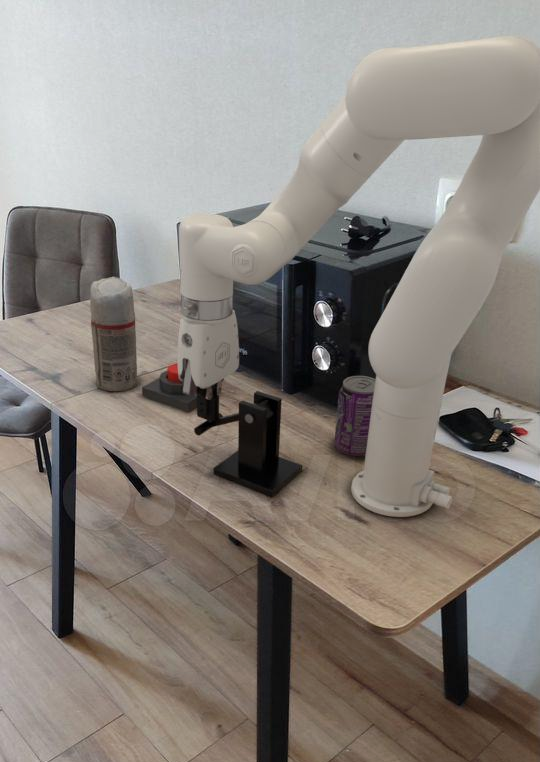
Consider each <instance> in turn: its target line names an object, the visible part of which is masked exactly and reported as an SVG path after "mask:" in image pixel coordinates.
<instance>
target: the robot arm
mask: <svg viewBox="0 0 540 762" xmlns="http://www.w3.org/2000/svg"><path fill="white" fill-rule="evenodd" d="M345 90H346V91H345V94H344V96H343V97H342V98H341V99H340V101H339V102H338V103H337V104H336V105H335V107H334V108H333V109H332V111H330V113H329V114H328V115H327V116H326V118H325V119H324V120H323V121H322V122H321V123H320V124H319V126H317V128H316V129H315V130H314V132H313V133H312V134H311V135H310V137H308V138H307V140H306V141H305V142H304V144H303V145H302V147H301V149H300V152H299V156H298V158H299V159H298V165H297V167H296V169H295V171H294V173H293V174H292V176H291V177H290V178H289V180H288V181H287V183H286V184H285V185H284V186H283V187H282V189H281V190H280V191H279V193H277V195H276V196H275V198H274V199H272V201H271V202H269V205H267V207H266V208H264V210H263V211H262V212H261V213H260V214H259V215H258V216H256V217H255V218H253V219H251V220H250V221H248V222H246V223H244V224H243V223H242V224H240V225H236V226H234V225H233V223H232V221H231V220H230V219H229V218H228V217H226V216H223V215H220V214H215V213H204V212H203V213H192V214H189V215H186V216H185V217H183V218H182V219H181V221H180V222H179V225H178V251H179V252H178V253H179V283H180V286H179V287H180V315H181V318H180V319H179V320H180V321H179V328H178V337H177V338H178V339H177V364H178V375H179V379H180V381H182V382H184V386H183V393H185V394H188V395H196V396H197V408H196V416H197V417H198V418H201V419H203V420H205V421H206V420H209V421H214V420H215V419H217V418H218V417H219V413H220V394H221V393H222V388H223V383H224V380H225V378H228V377H229V376H231V375H233V374H234V373H235V372H236V371H237V370H238V368H239V366H240V341H239V328H238V322H237V316H236V311H235V309H234V282H237V283H239V284H243V285H248V286H255V285H260V284H263V283H265V282H266V281H268V280H270V279H271V278H272V277H273V276H274V275H275V274H276V273H278V272H279V271H280V270H281V269H282V268H283V267H284V266H286V265H287V264H288V263H289V262H290V261H292V260H293V259H294V258H295V256H297V254H299V252H300V251H301V250H302V249H303V248H304V247H305V246H306V245H307V244H308V242H310V240H311V239H312V238H313V237H314V236H315V235H316V234H317V233H318V232H319V231H320V230H321V229H322V227H323V226H325V224H326V223H327V222H328V221H329V220H330V219H331V218H332V217H333V215H334V214H335V213H336V212H337V211H339V210H340V208H342V207H343V206H344V205H346V204H347V203H348V202H349V201H350V200H351V198H352V197H353V196H354V195H355V194H356V193H357V192H358V191H359V190H360V189H361V188H362V187H363V185H364V184H365V183H366V182H367V181H368V180H369V179H370V178H371V177H372V176H373V174H374V173H375V172H376V171H377V170H378V169H379V168H380V167H381V166H382V165H383V163H384V162H386V160H387V159H388V158H389V157H390V156H391V155H392V154H393V153H394V152H395V151H396V150H397V149H398V148H399V147H400V145H402V144H403V142H405V141H410V140H429V139H441V138H442V139H443V138H459V137H475V136H476V137H477V136H482V137H481V140H480V143H479V146H478V148H477V150H476V152H475V154H474V155H473V157H472V160H471V162H470V164H469V165H468V167H467V169H466V171H465V172H464V175H463V177H462V179H461V181H460V183H459V185H458V187H457V189H456V190H455V193H454V194H453V196H452V197H451V200H450V202H449V203H448V205H447V207H446V208H445V210H444V212H443V213H442V215H441V216H440V218H439V220H438V221H437V222H436V223H435V225H434V226H433V227H432V228H431V229H430V231H428V233H427V235H426V236H425V238H424V239H423V240H422V242H421V243H420V245H419V246H418V248H417V249H416V251H415V253H414V254H413V256H412V258H411V261H410V262H409V264H408V266H407V268H406V269H405V270H404V273H403V275H402V277H401V278H400V280H399V283H398V284H397V286H396V288H395V290H394V292H393V293H392V295H391V297H390V299H389V301H388V303H387V304H386V307H385V309H384V310H383V312H382V314H381V315H380V317H379V320H378V321H377V323H376V325H375V327H374V329H373V330H372V333H371V334H370V338H369V341H368V349H367V350H368V351H367V352H368V353H367V355H368V360H369V363H370V366H371V367H372V371H373V373H374V374H375V379H376V380H375V387H374V395H373V401H372V409H371V417H370V425H369V433H368V440H367V448H366V455H364V465H363V470H361V471H360V472H358V473H357V474H355V476H354V477H353V478H352V481H351V486H350V490H351V491H350V492H351V494H352V497H353V499H354V500H355V501H356V502H357V503H358V504H359V505H360V506H362V507H363V508H365V509H367V510H368V511H370V512H372V513H375V514H378V515H382V516H386V517H391V518H407V517H414V516H418V515H420V514H423V513H425V512H427V511H428V510H429V509H430V508H431V507H432V506H433V505H434V504H435V505H436V506H438V507H441V508H445V509H449V508H450V507H451V504H452V501H453V495H450V492H451V487H449V486H446V485H443V484H439V483H436V480H434V476H435V471H434V470H432V469H430V467H431V460H432V456H433V450H434V445H435V441H436V434H437V429H438V423H439V419H440V418H439V416H440V412H441V409H442V403H443V398H444V394H445V387H446V382H447V378H448V374H449V373H448V372H449V368H450V363H451V358H452V354H453V352H454V351H455V349H456V347H458V345H459V343H460V341H461V340H462V338H463V337H464V335H465V334H466V332H467V331H468V329H469V327H471V324H472V323H473V321H474V319H476V316H477V314H478V313H479V312H480V310H481V308H482V307H483V305H484V303H485V302H486V300H487V298H488V296H489V295H490V293H491V290H492V289H493V286H494V285H495V281H496V279H497V276H498V272H499V270H500V266H501V262H502V258H503V255H504V253H505V251H506V249H507V247H508V245H509V244H510V242H511V240H512V238H513V237H514V235H515V234H516V232H517V230H518V229H519V227H520V225H521V224H522V222H523V221H524V219H525V217H526V215H527V213H528V211H529V210H530V208H531V206H532V204H533V202H534V201H535V199H536V197H537V196H538V194H539V192H540V47H539V45H537V44H536V43H535V42H534V41H532V40H531V39H529V38H527V37H524V36H522V35H516V34H513V35H511V34H510V35H501V36H493V37H487V38H479V39H472V40H463V41H455V42H446V43H439V44H430V45H420V46H390V47H383V48H380V49H377V50H374V51H371V53H369V54H367V55H366V56H365V57H364V58H363V59H362V60H361V61H359V63H358V64H357V65H356V67H355V68H354V70H353V71H352V72H351V75H350V77H349V79H348V82H347V85H346V89H345Z"/></svg>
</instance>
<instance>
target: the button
mask: <svg viewBox="0 0 540 762" xmlns="http://www.w3.org/2000/svg"><path fill="white" fill-rule="evenodd" d="M166 371H167V373H168V380H169V381H172V382H182V381H180V379H179V375H178V363H173V364H170V365H168V367H167V369H166Z"/></svg>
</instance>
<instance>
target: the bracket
mask: <svg viewBox="0 0 540 762" xmlns="http://www.w3.org/2000/svg"><path fill="white" fill-rule="evenodd" d="M265 400H268V401H269V404H270V406H271V408H272V411H273V413H274V414H273V415H272V416H271V417H269V418H268V419H267V408H264V407H261V406H258V405H255V404H254V403H257V402H261V401H265ZM282 402H283V401H282V398H281V397H278V396H274V395H271V394H268V393H265V392H262V391H260V390H256V391H255V392H253V403H252V402H248V401H245V400H241V401H240V402H238V413H239V421H238V431H237V432H238V434H237V436H238V438H237V439H238V441H237V443H238V445H237V451H235V452H234V453H232V454H230V455H229V456H228V457H227V458H225V459H224V460H222V461H221V462H220V463H218V464H217V465H215V466H214V467H213V475H214V476H217V477H219V478H222V479H225V480H227V481H230V482H232V483H234V484H236V485H240V486H242V487H245V488H247V489H250V490H252V491H255V492H257V493H260V494H262V495H264V496H267V497H270V498H273V497H275V495H277V494H278V493H279V492H280V491H281V490H283V489H284V488H285V487H286V486H287V485H288V484H290V483H291V482H292V481H293V480H294V479H295V478H297V476H299V475H300V474H301V473H302V472H303V464H300V463H297V462H295V461H292V460H289V459H287V458H284V457H281V456H280V442H281V441H280V440H281V439H280V438H281V420H282V419H281V418H282Z"/></svg>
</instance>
